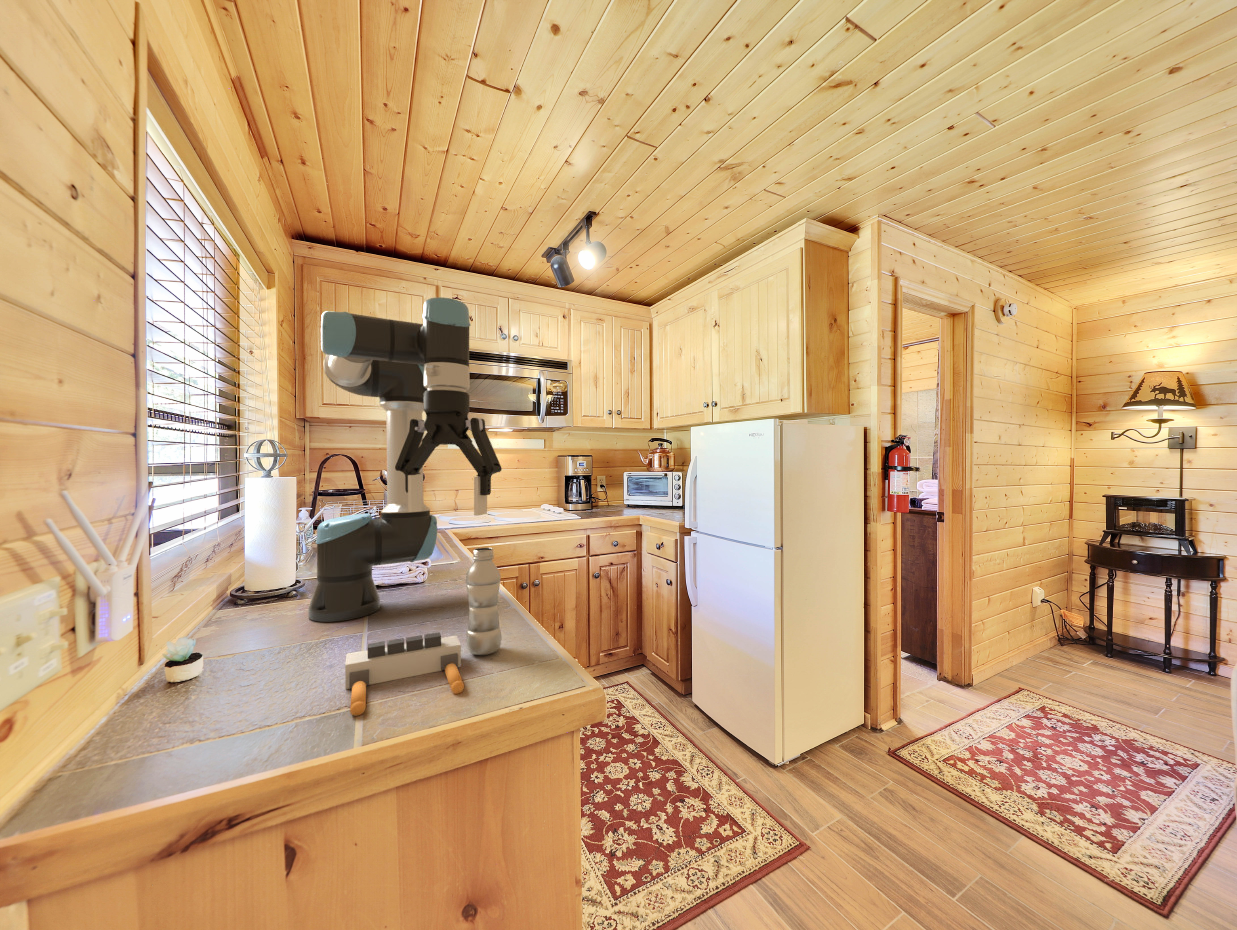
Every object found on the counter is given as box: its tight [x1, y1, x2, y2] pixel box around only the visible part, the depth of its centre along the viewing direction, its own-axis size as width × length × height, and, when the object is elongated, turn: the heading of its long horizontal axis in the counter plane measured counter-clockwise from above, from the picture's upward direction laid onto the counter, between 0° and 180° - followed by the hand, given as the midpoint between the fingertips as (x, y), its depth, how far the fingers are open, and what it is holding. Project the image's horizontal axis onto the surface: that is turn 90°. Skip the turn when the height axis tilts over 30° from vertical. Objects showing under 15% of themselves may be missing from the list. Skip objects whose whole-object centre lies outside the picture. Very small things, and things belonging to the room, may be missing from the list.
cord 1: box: [349, 681, 367, 717], centre depth 72 cm, size 9×2×2 cm, turn 27°
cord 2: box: [444, 663, 465, 695], centre depth 79 cm, size 9×2×2 cm, turn 28°
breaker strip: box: [344, 632, 462, 690], centre depth 83 cm, size 6×18×6 cm, turn 117°
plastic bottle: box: [465, 547, 503, 656], centre depth 91 cm, size 6×7×20 cm
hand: (447, 513), depth 82 cm, fingers open, 13 cm apart
